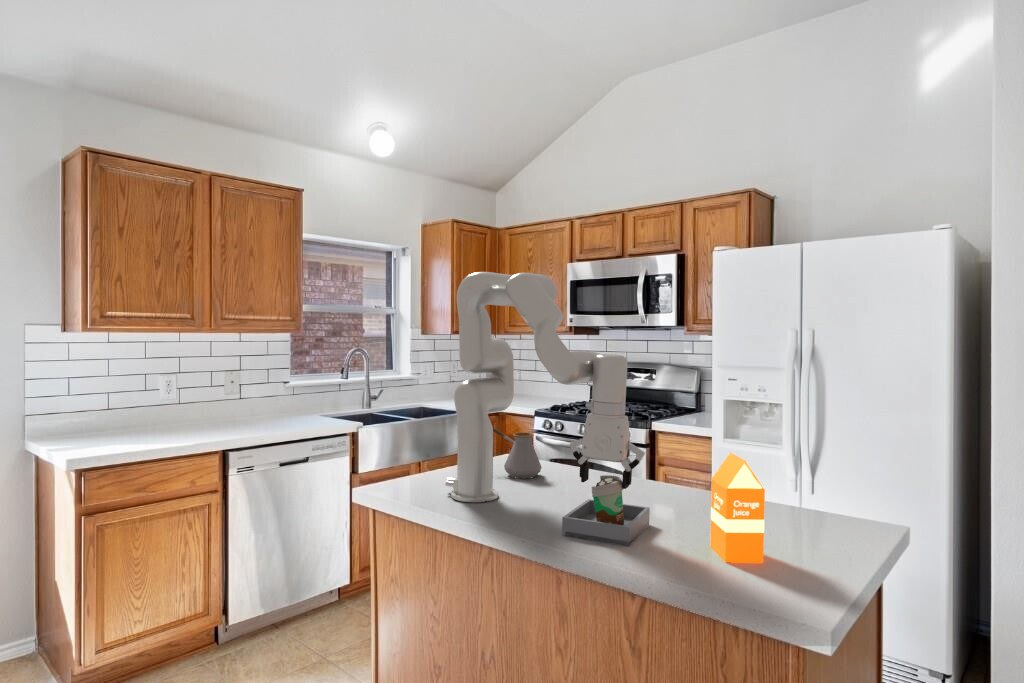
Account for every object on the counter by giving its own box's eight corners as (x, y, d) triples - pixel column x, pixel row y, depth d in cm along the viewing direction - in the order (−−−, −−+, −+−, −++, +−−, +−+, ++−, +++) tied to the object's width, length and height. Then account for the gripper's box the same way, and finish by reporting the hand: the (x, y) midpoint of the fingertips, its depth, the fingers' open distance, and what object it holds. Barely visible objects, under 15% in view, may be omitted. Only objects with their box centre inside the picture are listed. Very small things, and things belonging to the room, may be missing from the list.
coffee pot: (548, 475, 196) (549, 427, 196) (527, 482, 187) (528, 431, 187) (493, 466, 209) (493, 420, 208) (471, 472, 199) (471, 424, 199)
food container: (625, 532, 136) (619, 485, 136) (597, 533, 138) (591, 487, 138) (632, 516, 148) (626, 473, 148) (606, 517, 150) (600, 475, 150)
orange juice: (746, 547, 133) (748, 452, 133) (764, 563, 124) (766, 461, 124) (709, 547, 133) (711, 452, 132) (724, 563, 124) (726, 461, 124)
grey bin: (562, 535, 139) (562, 517, 139) (588, 515, 154) (588, 499, 154) (629, 546, 133) (629, 527, 132) (649, 524, 148) (649, 507, 148)
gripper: (566, 407, 144) (563, 482, 144) (641, 415, 136) (638, 494, 137) (577, 403, 150) (574, 475, 151) (650, 411, 143) (646, 486, 143)
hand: (604, 484), depth 144 cm, fingers open, 9 cm apart
